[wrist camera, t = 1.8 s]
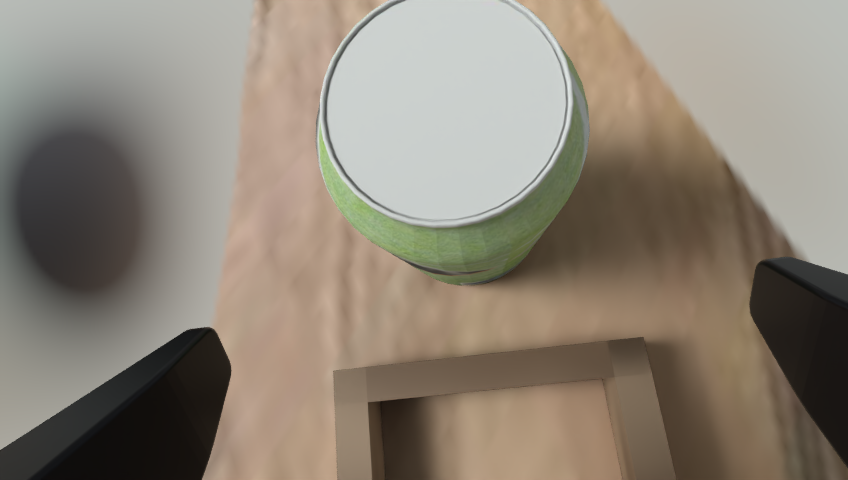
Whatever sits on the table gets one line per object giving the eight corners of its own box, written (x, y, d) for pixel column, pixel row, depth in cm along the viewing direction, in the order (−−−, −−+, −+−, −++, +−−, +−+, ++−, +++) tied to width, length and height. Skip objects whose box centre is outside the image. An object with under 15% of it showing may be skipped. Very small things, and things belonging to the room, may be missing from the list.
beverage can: (514, 140, 22) (537, -137, 10) (570, 299, 19) (678, 169, 8) (379, 179, 22) (255, -46, 11) (417, 340, 20) (312, 273, 8)
